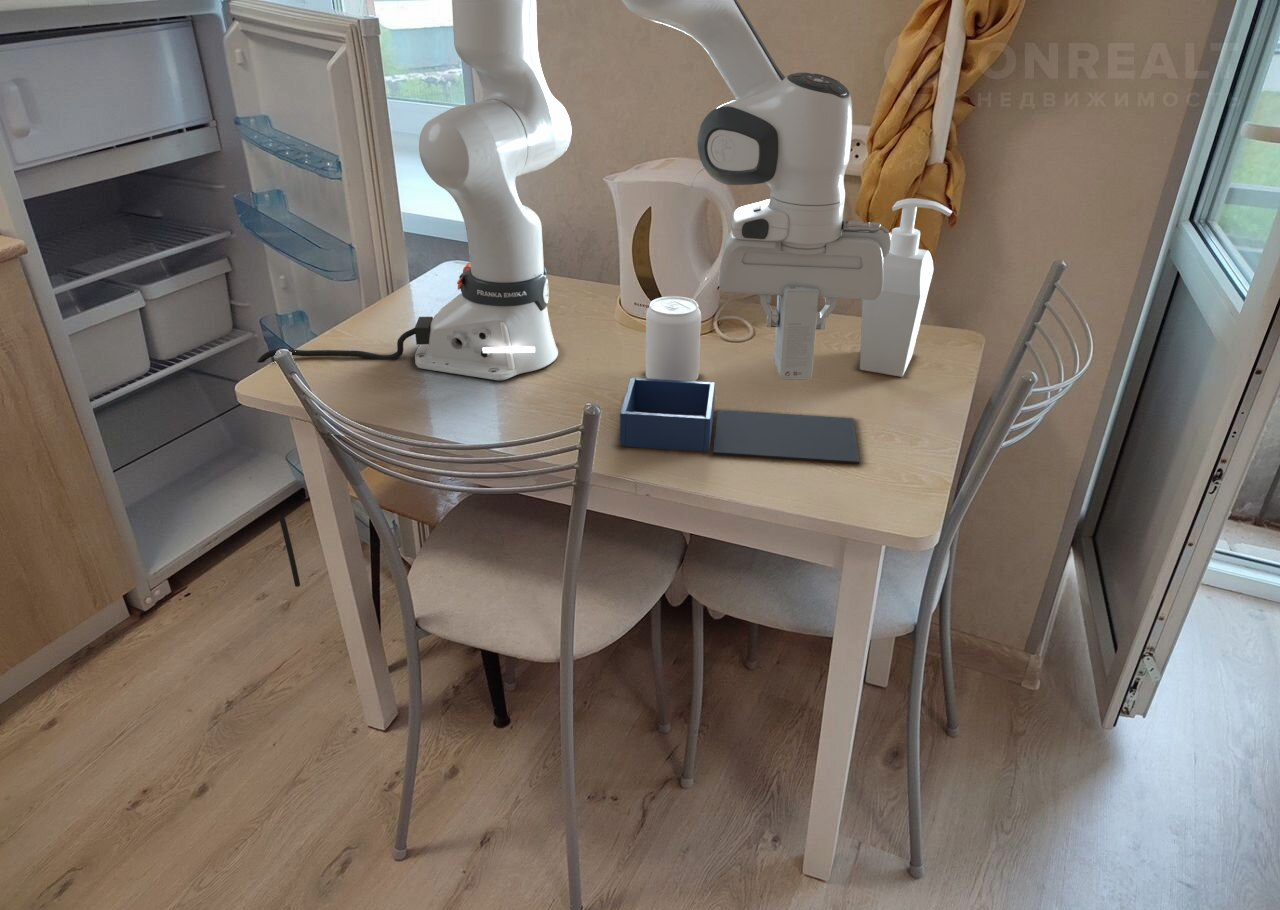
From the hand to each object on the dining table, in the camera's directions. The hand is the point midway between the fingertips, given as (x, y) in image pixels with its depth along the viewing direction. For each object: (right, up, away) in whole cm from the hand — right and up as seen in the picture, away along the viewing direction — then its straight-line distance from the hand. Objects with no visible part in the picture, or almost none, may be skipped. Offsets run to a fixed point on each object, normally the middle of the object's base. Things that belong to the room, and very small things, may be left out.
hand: (795, 326), depth 120 cm
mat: (0, -14, +8) cm, 16 cm away
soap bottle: (+20, -2, +29) cm, 35 cm away
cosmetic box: (0, -5, +3) cm, 6 cm away
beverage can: (-15, -5, +24) cm, 28 cm away
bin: (-16, -13, +10) cm, 23 cm away
